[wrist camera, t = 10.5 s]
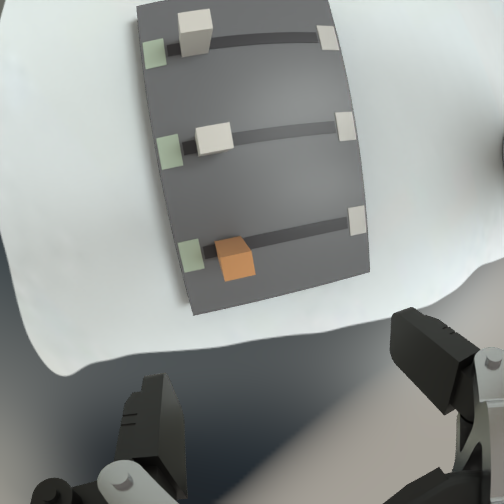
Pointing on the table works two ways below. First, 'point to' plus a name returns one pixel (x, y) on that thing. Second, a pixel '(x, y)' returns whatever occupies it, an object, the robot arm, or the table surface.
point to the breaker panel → (255, 144)
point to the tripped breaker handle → (235, 258)
